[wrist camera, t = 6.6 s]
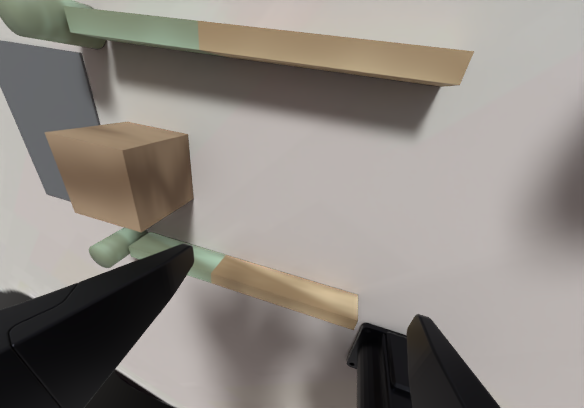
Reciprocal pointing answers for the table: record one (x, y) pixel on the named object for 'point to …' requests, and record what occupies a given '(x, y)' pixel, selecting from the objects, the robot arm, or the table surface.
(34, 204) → the table surface
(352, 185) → the table surface
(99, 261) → the lane walls
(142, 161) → the block
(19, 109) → the pit mat
